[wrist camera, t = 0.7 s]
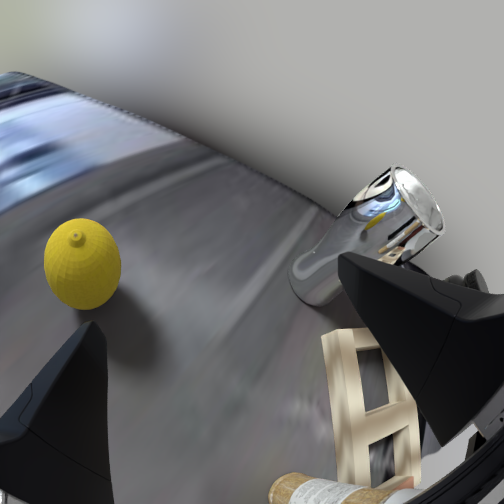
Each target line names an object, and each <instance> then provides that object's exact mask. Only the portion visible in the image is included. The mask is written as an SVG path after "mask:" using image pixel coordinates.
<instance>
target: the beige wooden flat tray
mask: <svg viewBox="0 0 504 504" xmlns="http://www.w3.org/2000/svg"><path fill="white" fill-rule="evenodd" d="M321 340H322V346H323V353H324V359H325V366H326V373H327V381H328V388H329V396H330V404H331V412H332V421H333V431H334V441H335V451H336V463H337V476H338V482H341V483H347V484H353V485H360V486H367V487H370V488H371V480H370V462H369V448H368V445H369V444H371V443H374V442H376V441H378V440H380V439H382V438H384V437H386V436H388V435H390V434H392V433H393V443H394V459H395V476H394V477H393V478H391V479H389V480H388V481H386V482H384V483H383V484H381V485H379V486H378V487H376V488H375V489H383V490H402V489H414V487H416V486H417V485H418V484H419V483H421V457H420V438H419V425H418V414H417V405H416V402H415V400H414V399H413V397H412V395H411V394H410V392H409V391H408V389H407V387H406V386H405V384H404V383H403V381H402V379H401V378H400V376H399V375H398V373H397V371H396V370H395V368H394V367H393V365H392V364H391V362H390V361H389V359H388V357H387V356H386V354H385V353H384V351H383V350H382V348H381V347H380V345H379V344H378V342H377V341H376V339H375V338H374V336H373V335H372V333H371V332H370V330H369V329H368V328H352V329H337V330H334V331H332V332H330V333H327V334H325V335H322V336H321ZM377 348H381V352H382V357H383V363H384V369H385V375H386V382H387V388H388V396H389V404H387V405H384V406H381V407H379V408H376V409H373V410H371V411H368V412H365V408H364V400H363V393H362V386H361V379H360V372H359V366H358V360H357V354H356V351H363V350H370V349H377Z"/></svg>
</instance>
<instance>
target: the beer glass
mask: <svg viewBox="0 0 504 504" xmlns="http://www.w3.org/2000/svg"><path fill="white" fill-rule="evenodd" d="M445 228H446V227H445V221H444V217H443V215H442V212H441V210H440V208H439V206H438V204H437V202H436V200H435V199H434V197H433V196H432V194H431V193H430V191H429V190H428V188H427V187H426V186H425V185H424V183H423V182H422V181H421V180H420V179H419V178H418V177H417V176H416V175H415V174H414V173H413V172H412V171H410V170H409V169H408V168H406V167H405V166H403V165H401V164H398V163H395V164H393V165H392V166H391V167H390V168H389V169H387V170H386V171H385V172H384V173H382V174H381V175H380V176H379V177H377V178H376V179H375V180H373V181H372V182H371V183H370V184H368V185H367V186H366V187H365V188H364V189H363V190H362V191H361V192H359V193H358V194H357V195H356V196H355V197H354V198H353V199H352V200H351V202H349V203H348V204H347V206H346V207H345V208H344V209H343V211H342V212H341V213H340V215H339V216H338V217H337V218H336V220H335V221H334V222H333V224H332V225H331V227H330V228H329V229H328V231H327V232H326V234H325V235H324V236H323V237H322V239H321V240H320V241H319V242H318V243H317V244H316V245H315V246H314V247H312V248H311V249H309V250H307V251H305V252H303V253H301V254H299V255H298V256H296V257H295V258H294V259H293V260H292V262H291V264H290V266H289V280H290V284H291V286H292V288H293V290H294V292H295V293H296V294H297V296H298V297H299V298H300V299H301V300H303V301H304V302H305V303H307V304H309V305H312V306H317V307H319V306H324V305H327V304H328V303H330V302H331V301H332V300H333V299H334V298H335V297H336V296H337V295H338V294H339V293H341V292H342V291H343V290H345V289H344V287H343V285H342V284H341V282H340V280H339V277H338V255H339V254H341V253H344V252H348V251H349V252H353V253H356V254H359V255H363V256H366V257H369V258H373V259H376V260H379V261H382V262H385V263H389V264H392V265H395V266H398V267H399V266H401V265H403V264H405V263H406V262H408V261H409V260H411V259H412V258H414V257H415V256H416V255H418V254H419V253H420V252H421V251H423V250H424V249H425V248H427V247H428V246H429V245H430V244H431V243H433V242H434V241H435V240H436V239H437V238H439V237H440V236H441V235H443V234H444V233H445Z"/></svg>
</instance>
